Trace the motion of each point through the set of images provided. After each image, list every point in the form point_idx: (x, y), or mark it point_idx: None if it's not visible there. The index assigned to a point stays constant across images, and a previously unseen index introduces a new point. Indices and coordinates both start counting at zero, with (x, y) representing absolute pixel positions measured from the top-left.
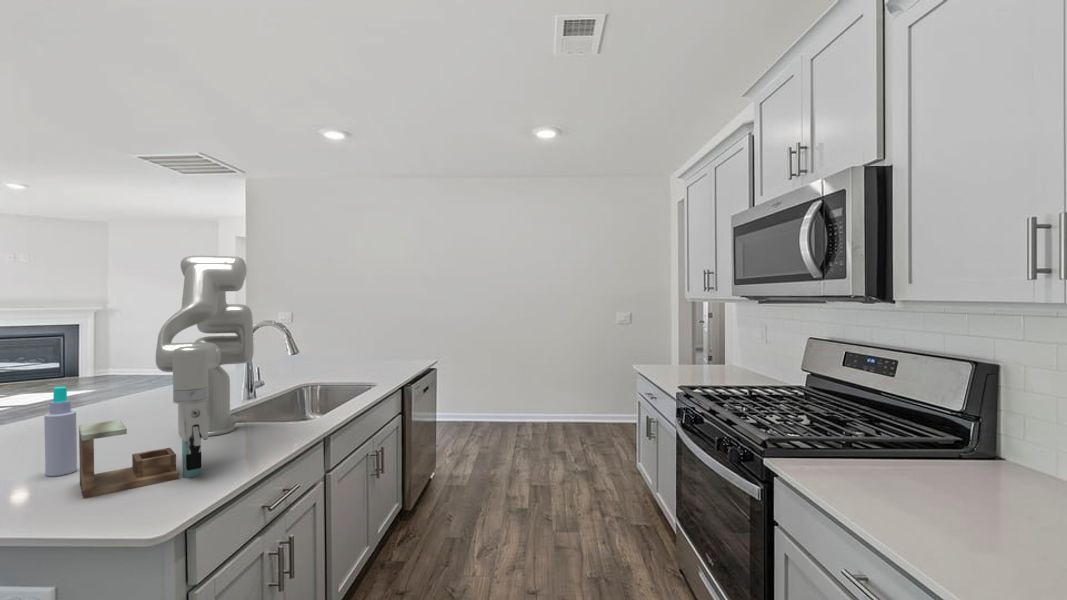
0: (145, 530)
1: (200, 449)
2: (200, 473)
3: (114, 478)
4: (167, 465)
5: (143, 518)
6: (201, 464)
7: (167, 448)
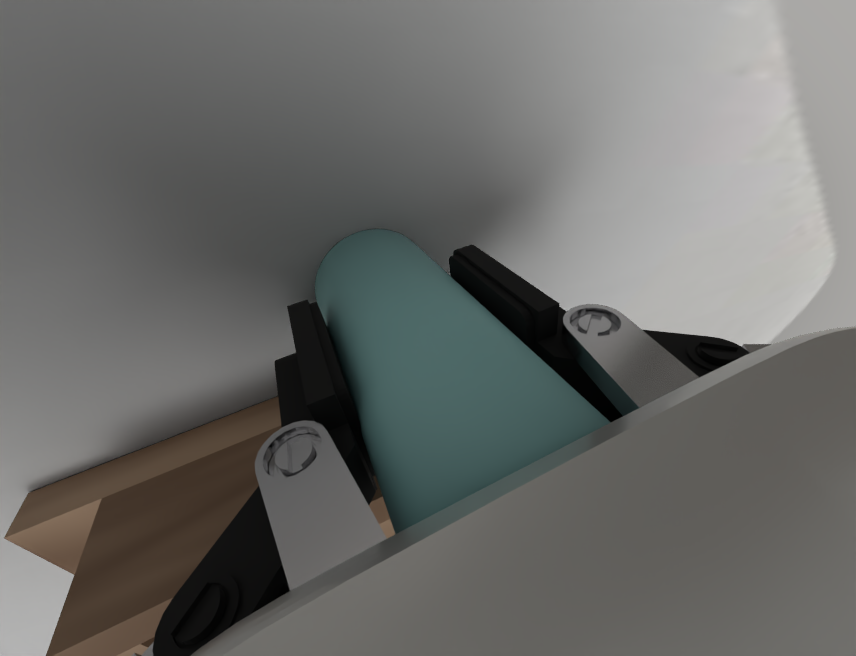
0: (785, 310)
1: (628, 326)
2: (401, 235)
3: None
4: None
5: (721, 338)
6: (481, 252)
7: (95, 653)
